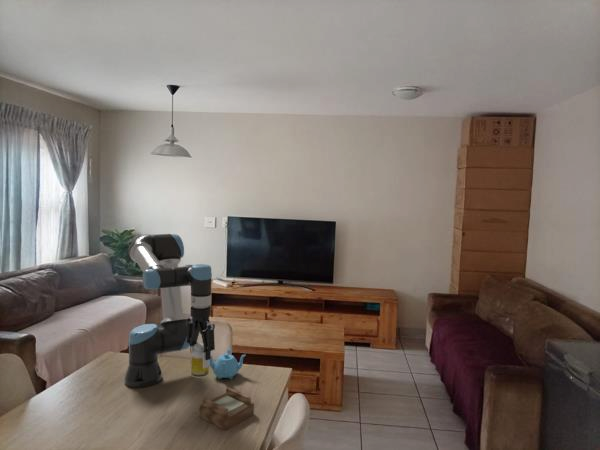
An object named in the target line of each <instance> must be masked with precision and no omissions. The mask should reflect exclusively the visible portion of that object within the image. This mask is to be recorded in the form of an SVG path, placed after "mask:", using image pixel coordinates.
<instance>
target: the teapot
mask: <svg viewBox="0 0 600 450" xmlns="http://www.w3.org/2000/svg"><path fill="white" fill-rule="evenodd" d="M245 356H246V354H242V355H241V356H240V357H239V362H238V360H237V358H236V357H235V356H234V355H232V354H231V347H230V346H229V347H228V348H227V352H226V353H223V354H222V355H220V356H218V357H217V358H216V360H215V362H214V359H213V355H211V354H210V369H212V371H213V373H214V375H215V376H216V377H217V380H222V379H223V378H225V379H226V378H228V379H229V380H233V379H234V377H235V376H236V375H237V374H238V373H239V371H240V369H241V368H242V367H243V363H244V362H243V361H244V358H245Z"/></svg>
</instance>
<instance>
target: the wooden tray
mask: <svg viewBox="0 0 600 450" xmlns="http://www.w3.org/2000/svg"><path fill="white" fill-rule="evenodd" d="M225 389H226V390H225V393H222V394H221V395H219V396H217V397H215V398H212V399H208V398H207V397H204V398H203V399H202V404H200V405H199V406H198V409H199V410H198V413H199V417H200V418H202V419H203V420H206V422H209V423H211V424H212V425H214V426H216V427H218V428H220V429H222V430H224V431H227V430H229V429H230V428H232V427H234V426H235V425H237V424H239V423H241V422H243V421H244V420H246V419H248V418H249V417H251V416H253V415H255V414H254V413H255V403H253V402H252V400H251V396H249V395H247V394H245V393H242V392H241V391H239V390H236V389H233V388H231V387H226V388H225Z"/></svg>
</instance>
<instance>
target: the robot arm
mask: <svg viewBox="0 0 600 450" xmlns="http://www.w3.org/2000/svg"><path fill="white" fill-rule="evenodd" d="M184 255H185V245H184V242H183V239H182V237H181V236H180V235H178V234H176V233H175V234H174V233H173V234H172V233H164V234H144V235H140V236H138V237H137V238H135V239H134V240H133V241H132V242H131V243H130V244H129V247H128V256H129V257H130V259H131V260H132V262H134V263H137V265H138V267H139V268H140V270H141V271H142V285H143V288H144V289H145V290H159V289H160V295H161V306H162V317H163V319H162V320H161V321H160V326H158V325H157V324H156V323H146V324H141V325H139V326H135V327H134V328H133V329H131V331H130V332H129V334H128V335H129V336H128V365H127V369H126V372H125V375H124V385H126V386H127V387H130V388H134V389H135V388H136V389H137V388H148V387H151V386H155V385H156V384H158V383H159V382H160V381H162V378H163V375H162V374H163V372H162V369H161V367H160V364H159V358H158V356H159V355H162V354H168V353H173V352H178V351H179V352H180V351H183V350H186V349H189V348H190V351H189V352H190V363H191V364H192V353H193V351H195V350H194V345H195V344H198V343H199V342H198V340H199V339H198V338H199V335H201V340H202V343H203V346H204V351H203V369H205V368H207V367H210V355H211V352H212V351H214V350H215V349H216V347H215V346H216V345H215V343H216V342H215V323H210V322H211V321H210V317H211V315H212V306H211V305H212V277H213V274H212V273H213V272H212V267H211V265H209V264H203V263H199V264H197V263H196V264H185V265H183V266H179V264H180V262H181V260H182V259H183V257H184ZM187 286H189V287H190V305H191V306H190V317H188V318H187V317H185V315H184V311H183V300H182V292H181V287H187ZM210 368H211V367H210Z"/></svg>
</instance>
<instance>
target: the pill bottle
mask: <svg viewBox="0 0 600 450" xmlns="http://www.w3.org/2000/svg"><path fill="white" fill-rule="evenodd" d="M197 343H198V344H195V345H194V350H195V351H193V353H192V363H191V370H190V371H191V377H193V378H197V379H202V378H205V377H207V376H208V375H209V371H210V370H209V367H207V368H205V369H203V351H204V346H203V342H197Z"/></svg>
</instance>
